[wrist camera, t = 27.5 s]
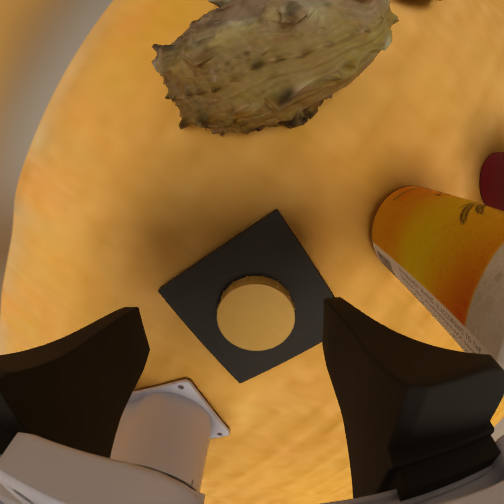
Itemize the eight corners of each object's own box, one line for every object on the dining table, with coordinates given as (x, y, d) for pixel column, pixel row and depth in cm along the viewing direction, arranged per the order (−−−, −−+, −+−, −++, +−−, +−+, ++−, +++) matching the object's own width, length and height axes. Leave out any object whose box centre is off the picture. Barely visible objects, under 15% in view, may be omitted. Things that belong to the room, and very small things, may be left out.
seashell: (381, 29, 16) (446, -43, 6) (288, 190, 18) (326, 191, 9) (249, -33, 15) (246, -123, 5) (140, 112, 17) (52, 61, 8)
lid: (294, 273, 20) (296, 282, 18) (293, 339, 21) (294, 350, 20) (216, 275, 20) (212, 284, 19) (222, 340, 22) (220, 351, 20)
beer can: (453, 227, 19) (608, 318, 5) (401, 285, 20) (521, 432, 6) (408, 166, 18) (603, 209, 3) (350, 229, 19) (493, 377, 5)
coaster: (240, 379, 23) (239, 383, 23) (159, 287, 21) (157, 291, 21) (349, 321, 21) (351, 325, 21) (276, 208, 19) (277, 210, 19)
